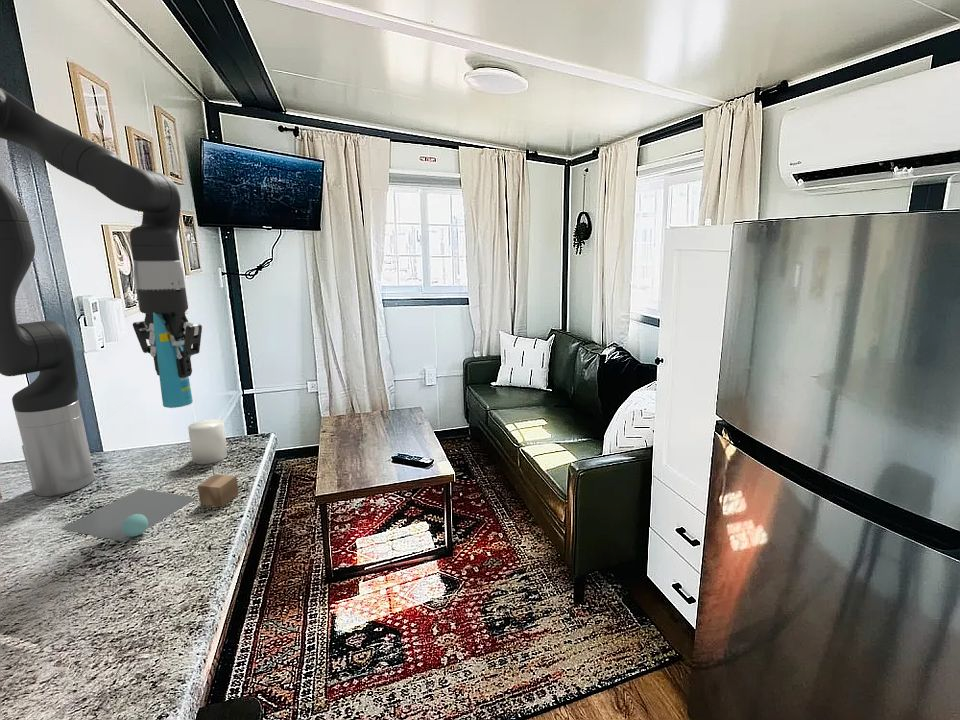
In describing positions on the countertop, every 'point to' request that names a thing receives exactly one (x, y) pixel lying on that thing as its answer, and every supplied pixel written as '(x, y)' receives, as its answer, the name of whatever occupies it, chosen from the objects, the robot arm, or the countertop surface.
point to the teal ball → (134, 525)
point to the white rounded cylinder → (207, 441)
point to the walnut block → (218, 490)
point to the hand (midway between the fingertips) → (174, 375)
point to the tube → (169, 369)
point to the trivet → (129, 513)
